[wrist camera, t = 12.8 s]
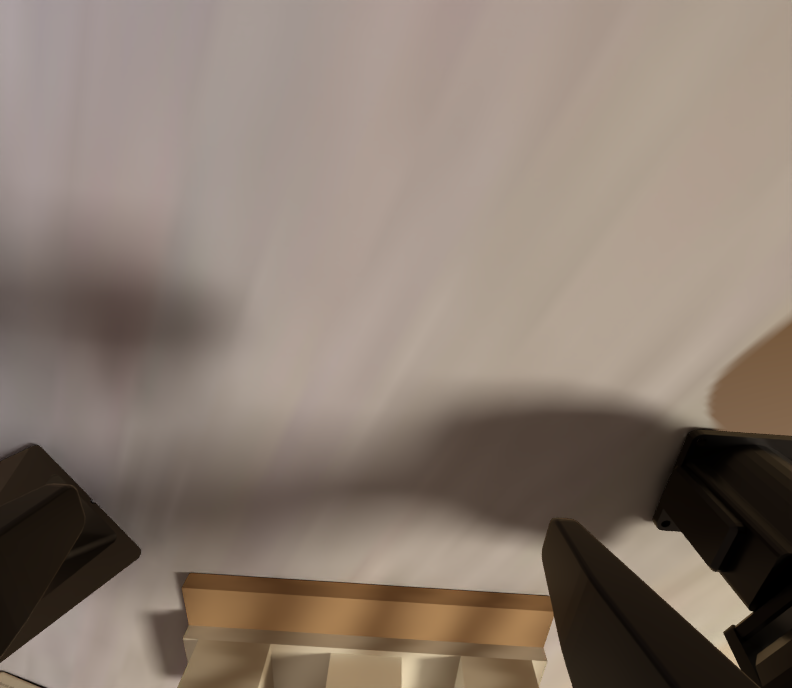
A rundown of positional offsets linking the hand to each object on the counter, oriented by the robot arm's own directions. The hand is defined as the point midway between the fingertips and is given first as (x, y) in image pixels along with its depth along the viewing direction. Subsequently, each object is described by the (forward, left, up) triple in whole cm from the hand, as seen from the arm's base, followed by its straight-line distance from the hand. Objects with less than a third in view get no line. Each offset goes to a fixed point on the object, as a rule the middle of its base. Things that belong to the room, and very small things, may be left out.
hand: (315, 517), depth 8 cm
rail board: (-1, +25, -12) cm, 28 cm away
